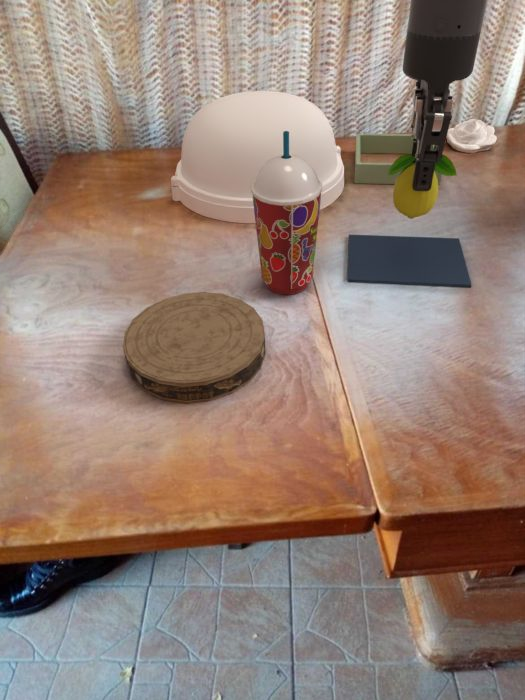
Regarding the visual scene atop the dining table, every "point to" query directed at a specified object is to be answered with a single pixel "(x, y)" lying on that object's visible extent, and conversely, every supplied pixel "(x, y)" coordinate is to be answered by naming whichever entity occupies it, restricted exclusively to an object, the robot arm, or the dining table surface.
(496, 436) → the dining table surface
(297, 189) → the smoothie
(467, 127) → the rose
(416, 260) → the mat
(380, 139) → the sage green tray
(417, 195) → the lemon
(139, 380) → the wood slice
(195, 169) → the dome cover
